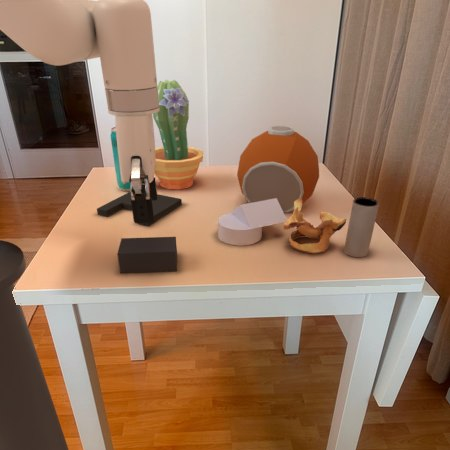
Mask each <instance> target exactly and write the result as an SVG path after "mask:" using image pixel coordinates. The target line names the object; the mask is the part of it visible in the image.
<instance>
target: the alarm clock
mask: <svg viewBox="0 0 450 450" xmlns="http://www.w3.org/2000/svg"><path fill="white" fill-rule="evenodd" d="M236 177H237V181H238V184H239V189H240V192H241V194H242V195H243V197H244V198H245V200H246V201H247V202H248V203H253V202H259V201H264V200H269V199H274V198H277V200H278V202H279V204H280V206H281V209H282V211H283V213H291V212H294V201H296V200H297V199H299V198H301V199H302V206H303V205H304V204H305V203H306V202H307V201H308V200H309V199H310V198H311V197H312V196H313V194H314V192H315V190H316V186H317V184H318V181H319V179H320V164H319V157H318V154H317V153H316V151H315V150H314V147H313V146H312V144H311V143H310V141H309V140H308V139H307V138H306V137H304V136H302V135H301V134H300V133H298V132H297V131H295V130H294V128H293V127H290V126H285V125H274V126H271V127H269V128H268V129H267V130H266V131H264V132H262V133H260V134H259V135H257V136H255V137H254V138H251V140H250V141H249V143H248V144H247V146H246V147H245V148H244V150H243V151H242V152H241V154H240V156H239V162H238V167H237V173H236Z"/></svg>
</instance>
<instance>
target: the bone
mask: <svg viewBox="0 0 450 450" xmlns="http://www.w3.org/2000/svg"><path fill="white" fill-rule="evenodd" d="M302 207H303V205H302V199H301V198H299V199H297V200H296V201H294V211H292V214H291V215H290V217H289V218H288V220H287V221H286V222H283V230H284V231H287V230H290V229H294V228H295V229H296V230H293V231H292V232H291V233H290V237H289V240H288V243H289V245H288V246H289V247H290V248H292V249H294V250H296V251H300V252H301V253H307V254H309V255H312V254H323V253H324V252H326V251H328V249H330V239H331V237H332V236H333V235H335V233H337V232H338V231H340V230H342V229H343V227H344V226H345V225H346V223H347V218H339V217H336V216H335V215H333V214H332V213H330V212H328V211H320V212H319V213H318V215H319V220H320V221H321V223H319V224H318V225H317V226H316V227H314V224H311V223H310V222H309V221H307V220H306V219H305V218H304V213H303V212H301V211H302ZM302 237H306V238H309V239H318V240H319V241H318V242H312V243H302V244H300V243H298V242H297V241H294V239H297V238H302Z"/></svg>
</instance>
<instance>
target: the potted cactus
mask: <svg viewBox="0 0 450 450" xmlns="http://www.w3.org/2000/svg"><path fill="white" fill-rule="evenodd" d="M157 87H158V98H159V109H160V110H159V112H157V113H154V114H152V118H153V121H154V122H155V124H156V126H157V128H158V131H159V134H160V138H161V139H160V140H161V143H162V146H161V147H155V155H156V167H155V174H154V176H156V177H157V179H158V180H159V181H160V182H159V186H160V187H162V188H163V189H168V190H182V189H188V188H190V187H191V186H193V185H194V184H193V183H194V182H193V180H194V178H195V176H196V175H197V174H198V170H199V167H200V164H201V163H202V162H203V159H204V151H203V150H201V149H200V148H197V147H192V146H189V145H188V133H187V127H188V123H189V118H190V116H189V115H190V113H189V112H190V110H189V109H190V108H189V107H190V100H189V97H188V96H187V94H186V92H185V91H184V89H183V88H182V86H181V85H180V83H179V82H178V81H177V80H176V79H173V80H171V81H170V80H169V79H165V80H164V81H162V80H159V82H158V83H157Z"/></svg>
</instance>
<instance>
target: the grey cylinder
mask: <svg viewBox="0 0 450 450" xmlns="http://www.w3.org/2000/svg"><path fill="white" fill-rule="evenodd" d="M351 205H352V206H351V209H350V210H351V211H350V214H349V220H348V224H347V225H348V226H347V231H346V237H345V242H344V248H343V251H344V253H345V254H346V255H348V256H350V257H353V258H364V257H367V256H368V254H369V251H370V246H371V242H372V237H373V231H374V228H375V223H376V219H377V215H378V211H379V206H380V202H379V201H378V200H377V199H375V198H372V197H367V196H361V197H355V198H354V199H353V200H352V204H351Z"/></svg>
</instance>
